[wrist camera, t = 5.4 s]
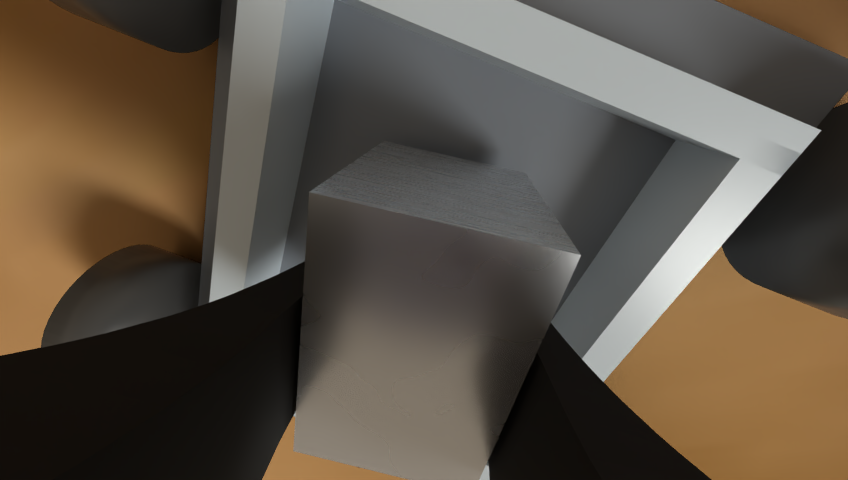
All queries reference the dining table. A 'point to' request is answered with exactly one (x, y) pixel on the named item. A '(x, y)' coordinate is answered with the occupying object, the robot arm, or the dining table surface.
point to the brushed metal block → (422, 310)
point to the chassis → (508, 144)
